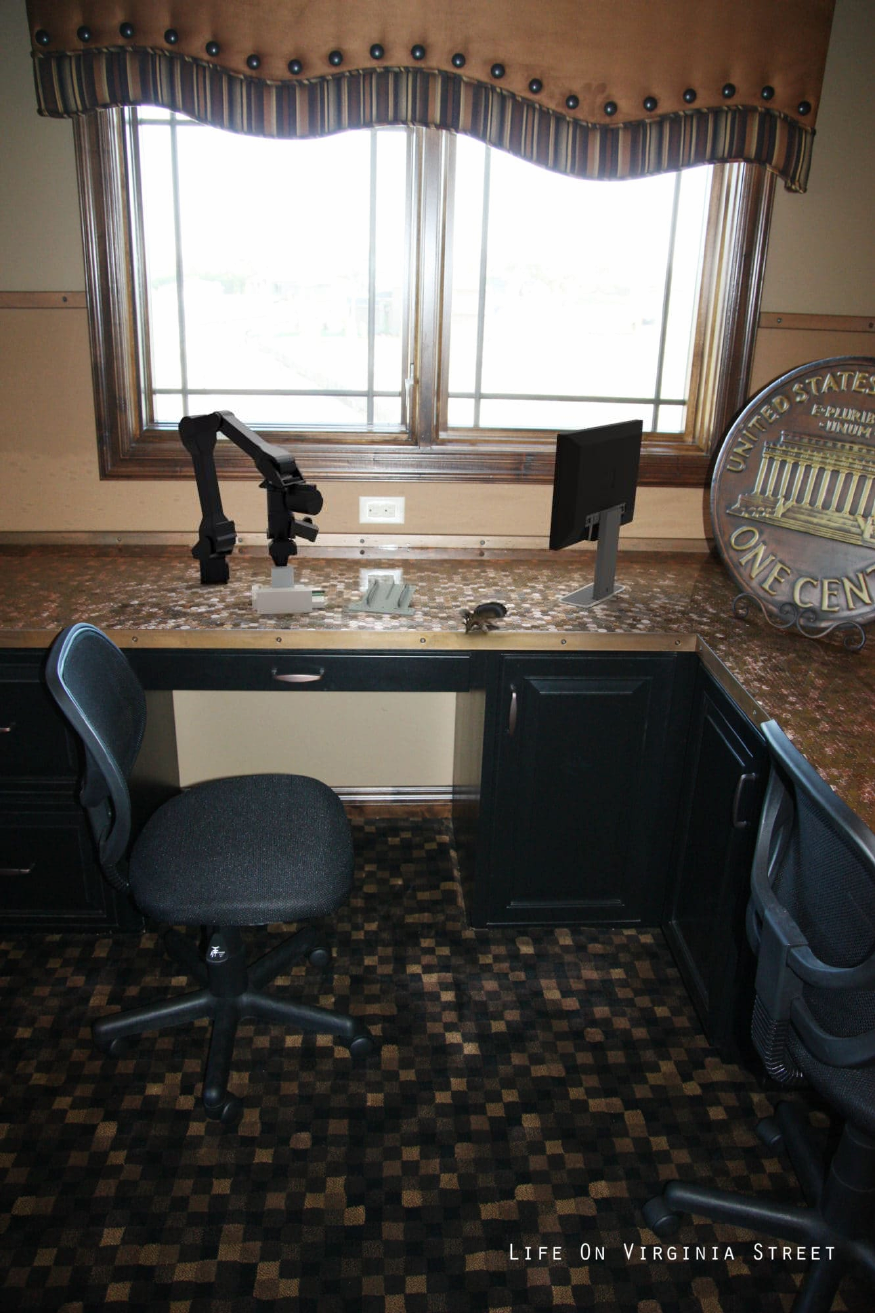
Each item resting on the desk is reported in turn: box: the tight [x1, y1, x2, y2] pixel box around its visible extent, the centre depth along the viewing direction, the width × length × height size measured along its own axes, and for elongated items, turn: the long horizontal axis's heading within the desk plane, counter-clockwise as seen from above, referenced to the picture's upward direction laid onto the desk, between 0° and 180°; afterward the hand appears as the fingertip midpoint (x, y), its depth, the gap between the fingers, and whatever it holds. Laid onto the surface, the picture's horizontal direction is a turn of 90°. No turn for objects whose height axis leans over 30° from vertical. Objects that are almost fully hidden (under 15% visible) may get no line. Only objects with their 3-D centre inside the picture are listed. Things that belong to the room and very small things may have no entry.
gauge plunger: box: [260, 565, 326, 594], centre depth 209 cm, size 14×4×8 cm, turn 101°
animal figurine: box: [458, 601, 509, 635], centre depth 194 cm, size 8×7×9 cm
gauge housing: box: [251, 584, 326, 615], centre depth 208 cm, size 16×14×5 cm
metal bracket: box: [348, 578, 417, 617], centre depth 210 cm, size 14×6×15 cm
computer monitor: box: [548, 418, 644, 609], centre depth 215 cm, size 41×8×40 cm, turn 145°
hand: (282, 576), depth 211 cm, fingers closed
